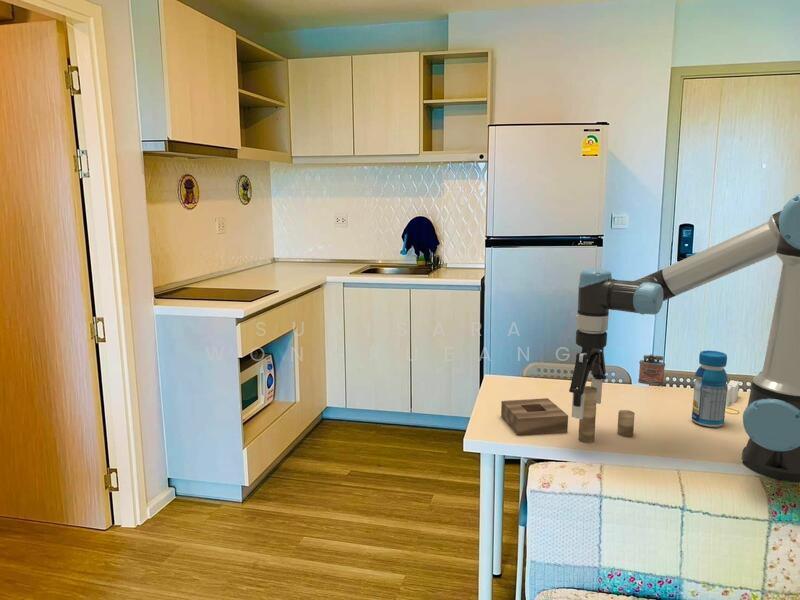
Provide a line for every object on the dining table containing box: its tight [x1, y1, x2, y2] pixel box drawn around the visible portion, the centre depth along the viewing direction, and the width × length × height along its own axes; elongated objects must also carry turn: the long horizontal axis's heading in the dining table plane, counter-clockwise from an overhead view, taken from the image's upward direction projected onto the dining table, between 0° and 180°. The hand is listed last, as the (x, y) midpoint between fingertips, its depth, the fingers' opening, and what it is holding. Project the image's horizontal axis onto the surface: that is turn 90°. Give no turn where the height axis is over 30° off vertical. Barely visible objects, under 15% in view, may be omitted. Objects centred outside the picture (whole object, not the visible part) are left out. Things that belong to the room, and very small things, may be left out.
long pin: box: [578, 385, 597, 444], centre depth 153 cm, size 4×4×14 cm
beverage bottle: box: [691, 350, 729, 428], centre depth 164 cm, size 8×8×20 cm
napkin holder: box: [725, 380, 740, 407], centre depth 184 cm, size 15×11×6 cm
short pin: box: [616, 409, 635, 438], centre depth 158 cm, size 4×4×6 cm
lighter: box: [637, 353, 666, 387], centre depth 200 cm, size 8×3×10 cm, turn 62°
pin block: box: [500, 397, 569, 437], centre depth 164 cm, size 14×14×5 cm
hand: (586, 410), depth 153 cm, fingers open, 13 cm apart
